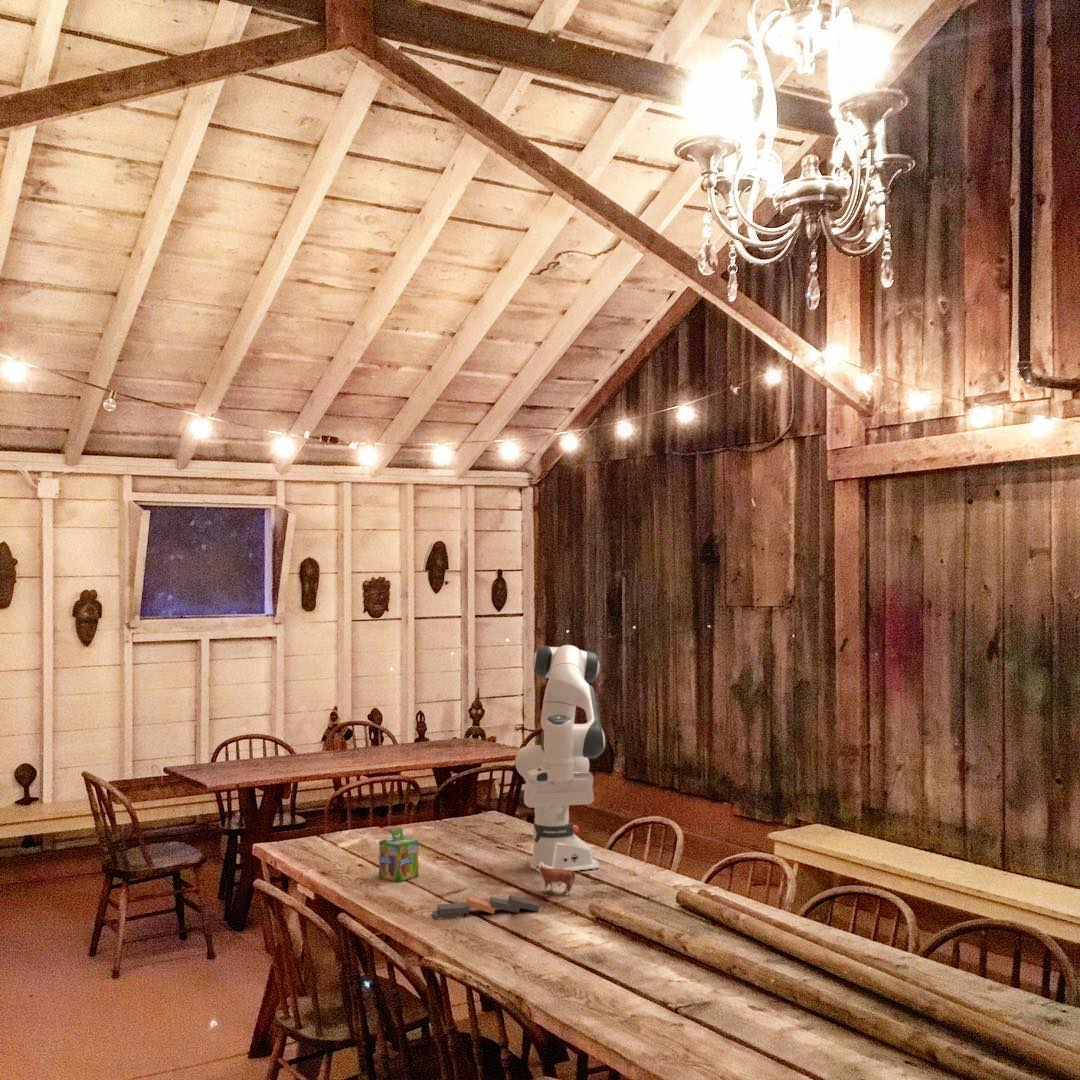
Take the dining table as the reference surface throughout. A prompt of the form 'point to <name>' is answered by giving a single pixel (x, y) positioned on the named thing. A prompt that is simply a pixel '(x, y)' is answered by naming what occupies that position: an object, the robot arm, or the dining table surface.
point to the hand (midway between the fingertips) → (558, 821)
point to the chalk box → (398, 858)
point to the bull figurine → (556, 876)
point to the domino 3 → (479, 904)
